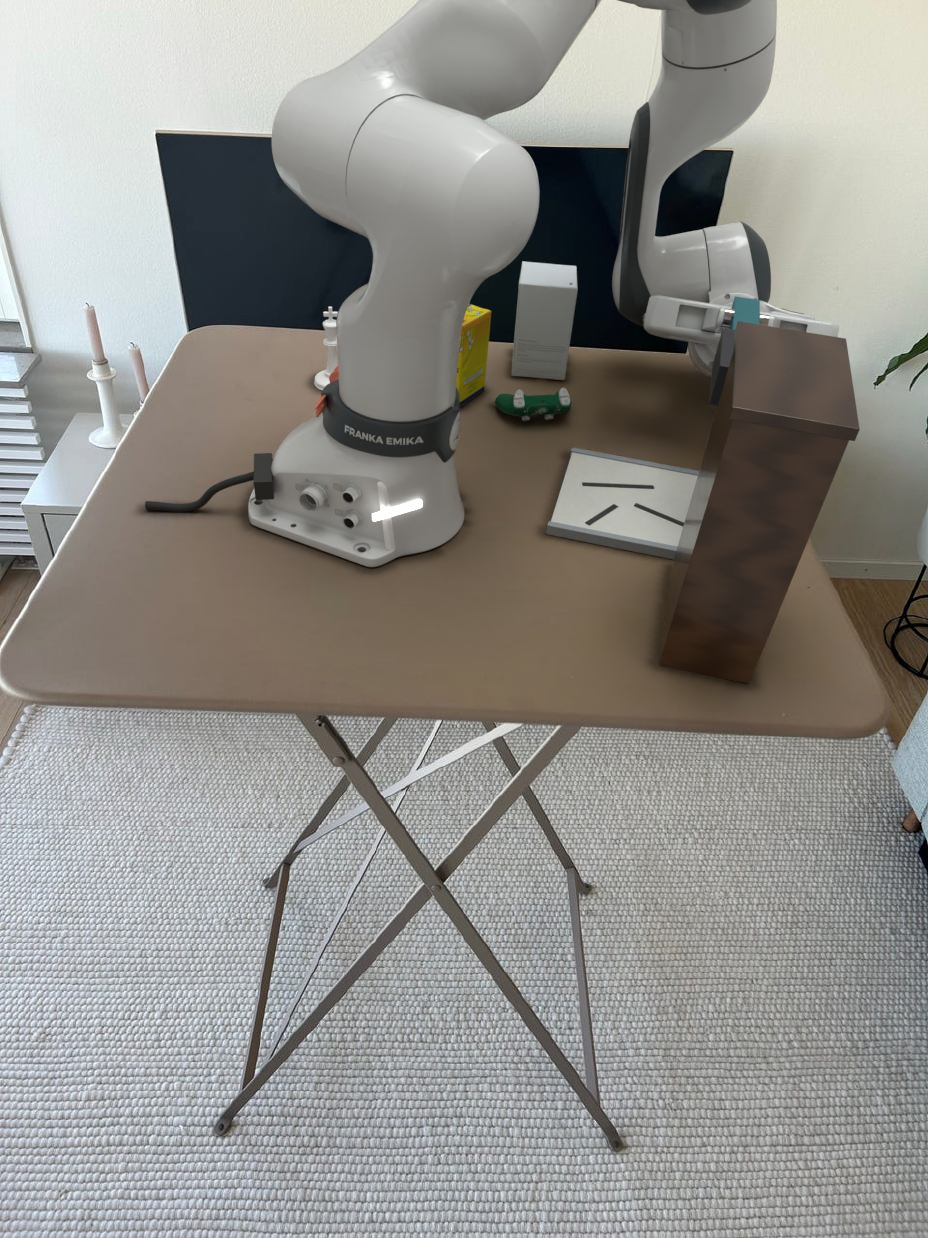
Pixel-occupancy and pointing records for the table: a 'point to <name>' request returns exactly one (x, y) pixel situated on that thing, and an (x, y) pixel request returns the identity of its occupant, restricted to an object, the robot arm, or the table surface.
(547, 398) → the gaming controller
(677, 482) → the whiteboard
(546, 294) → the white packaging box
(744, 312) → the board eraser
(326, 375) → the chess piece
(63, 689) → the table surface
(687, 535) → the walnut pedestal
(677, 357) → the table surface
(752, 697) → the table surface
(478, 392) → the supplement box
